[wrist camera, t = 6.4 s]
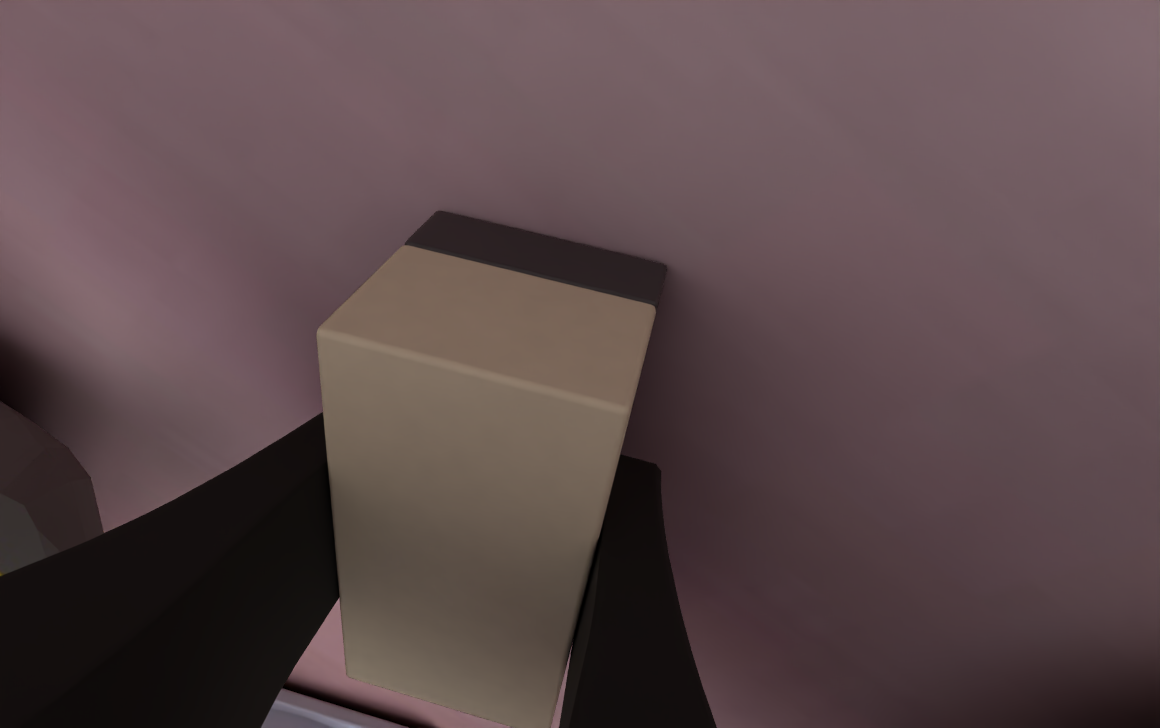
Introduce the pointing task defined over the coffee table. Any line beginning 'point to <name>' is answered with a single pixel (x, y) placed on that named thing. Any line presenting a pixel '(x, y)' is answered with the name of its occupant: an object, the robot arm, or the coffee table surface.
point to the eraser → (477, 456)
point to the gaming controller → (40, 495)
